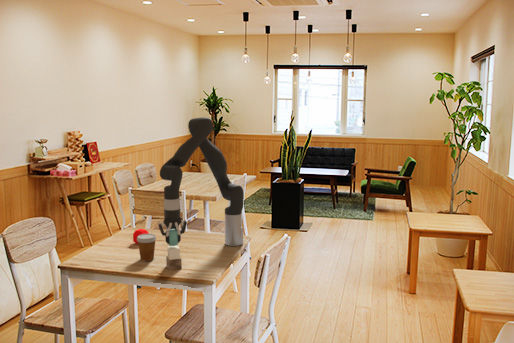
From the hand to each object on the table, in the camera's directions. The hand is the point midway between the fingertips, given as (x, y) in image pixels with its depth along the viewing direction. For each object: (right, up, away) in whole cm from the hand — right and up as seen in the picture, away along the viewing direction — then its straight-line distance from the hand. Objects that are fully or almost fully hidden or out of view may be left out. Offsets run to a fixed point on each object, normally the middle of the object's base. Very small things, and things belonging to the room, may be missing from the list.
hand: (173, 242), depth 240 cm
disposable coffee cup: (-15, -10, +13) cm, 23 cm away
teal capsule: (0, -1, 0) cm, 1 cm away
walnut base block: (0, -12, +2) cm, 12 cm away
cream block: (0, -7, +1) cm, 7 cm away
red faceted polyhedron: (-24, -6, +38) cm, 46 cm away
